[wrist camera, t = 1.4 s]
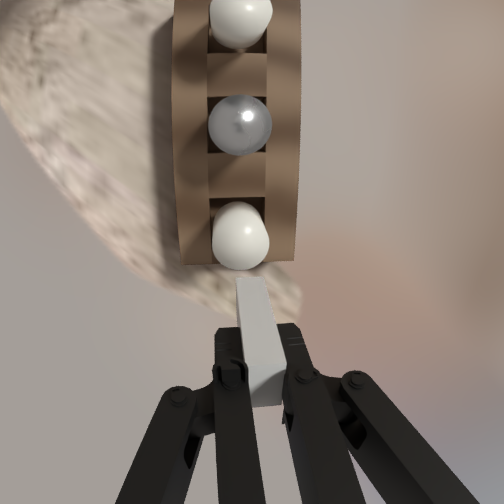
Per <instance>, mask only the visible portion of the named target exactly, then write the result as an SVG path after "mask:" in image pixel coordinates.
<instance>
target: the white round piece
mask: <svg viewBox="0 0 504 504" xmlns="http://www.w3.org/2000/svg"><path fill="white" fill-rule="evenodd" d="M272 12H273V10H272V4H271V2H270V0H212V2H211V4H210V21H211V30H212V34H213V36H214V38H215V39H216V41H217V42H219V43H220V44H221V45H223V46H225V47H228V48H232V49H243V48H247V47H250V46H252V45H254V44H255V43H257V42H258V41H259V39H260V38H261V36H262V35H263V33H264V31H265V29H266V27H267V25H268V23H269V21H270V19H271V17H272Z"/></svg>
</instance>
